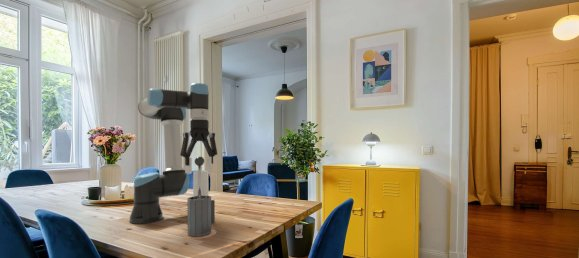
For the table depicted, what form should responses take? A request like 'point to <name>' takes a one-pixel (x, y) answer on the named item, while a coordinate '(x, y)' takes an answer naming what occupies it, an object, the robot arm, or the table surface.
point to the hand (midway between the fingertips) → (199, 172)
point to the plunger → (199, 175)
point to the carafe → (200, 216)
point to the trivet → (185, 235)
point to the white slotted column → (203, 183)
